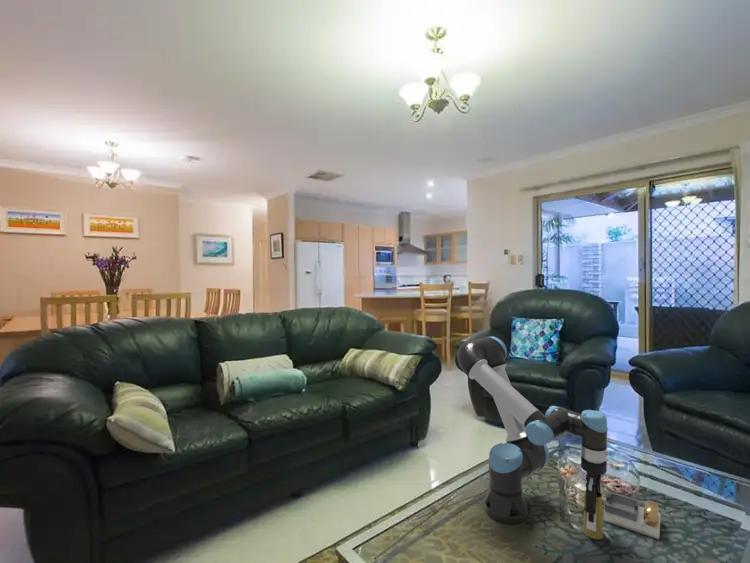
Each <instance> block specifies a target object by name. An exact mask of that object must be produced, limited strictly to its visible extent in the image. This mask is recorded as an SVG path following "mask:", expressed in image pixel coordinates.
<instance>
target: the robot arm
mask: <svg viewBox="0 0 750 563" xmlns="http://www.w3.org/2000/svg"><path fill="white" fill-rule="evenodd" d="M507 354H508V350H507V347H506V344H505V343H504V342H503V340H501V339H499V337H496V336H483V337H480V338H476V339H473V340H467V341H465V342H463V343H462V344H461V345H460V347H459V348H458V350H457V356H456V357H457V362H458V364H459V367H460V369H461V370H462V371H463V373H464V374H465V376H467V377H468V378H469V379H470V380H475V381H476V382H477V383H478V384H479V385H480V386H481V387H482V388H483V389H485V391H487V392H488V393H489V394H490V395H491V396H492V398H493V401H494V403H495V405H496V407H497V411H498V413H499V416H500V418H501V422H502V423H503V426H504V428H505V429H504V430H505V432H506V434H507V436H506V438H505V442H504V443H497V444H495V445H493V446H492V447H491V448H490V450H489V454H488V455H489V456H488V477H489V478H488V480H489V481H488V484H489V486H488V487H489V488H488V491H487V493H486V495H485V499H484V510H485V513H487V514H488V516H489V517H490V518H492V519H494V520H495V521H497V522H501V523H504V524H508V525H509V524H510V525H511V524H512V525H515V524H520V523H522V522H524V521H525V520H527V518H528V505H527V502H526V498H525V496H524V493H523V480H524V479H526V478H527V477H529V476H531V475H532V474H535V473H536V472H538V471H541V470H543V469H544V467H545V466H546V465H547V464H548V462H549V459H550V450H549V448H548V445H547V444H550V443H551V442H552V441H554V440H555V439H558V438H559V437H561V436H564V435H566V434H570V435H573V436H576V437H579V438H580V456H581V457H580V466H581V468H582V470H583V471H584V472H586V474H585V480H586V483H585V490H586V508H584V507H583V511H584V510H585V511H586V512H587V529H590V530H592V531H595V532H596V494H597V492H598V491H599V492H600V493H601V478H602V475H604V474H606V473H607V472H608V471H607V470H608V466H607V465H608V464H607V462H608V461H607V458H608V457H607V456H608V455H610V452H609V451H607V448H608V445H607V443H608V429H609V428H608V421H607V420H608V418H607V416H606V414H604V413H603V412H601V411H599V410H592V409H584V410H583V411H582V412H581V413H579V412H576V411H573V410H571V409H567V408H564V407H562V406H557V405H550V406H549V407H548V409H547V410H546V411H545V414H543V412H542V411H540V410H539V409H538V408H537V407H536V406H534V405H533V404H532V403H531V402H530V401H529V400H528V399H527V398H525V397H524V396H523V395H522V394H521V393H520V392H519V391H518V390H517V389H515V388H514V386H512V384H511V381H510V379H509V376H508V374H507V372H506V367H507V362H506V361H507V360H506V359H507Z"/></svg>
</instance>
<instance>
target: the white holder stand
mask: <svg viewBox="0 0 750 563" xmlns="http://www.w3.org/2000/svg"><path fill="white" fill-rule="evenodd" d="M659 509H660V507H659V505H658V503H657V502H655V501H653V500H647V501H645V502H644V507H642V506H640V500H639V499H637V498H633V497H630V496H626V495H624V494H621V493H617V492H613V491H610V490H608V491H607V494H606V498H605V502H604V510H603V522H607V523H610V524H612V525H616V526H619V527H622V528H624V529H627V530H631V531H633V532H635V533H639V534H642V535H644V536H647V537H650V538H653V539H657V540H660V535H661V534H660V533H661V516H662V515H661V512H659Z"/></svg>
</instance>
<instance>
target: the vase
mask: <svg viewBox="0 0 750 563" xmlns="http://www.w3.org/2000/svg"><path fill="white" fill-rule="evenodd" d="M583 502H584V504H583V525H582V531H583V533H584V535H585V536H587V537H588V538H590V539H593V540H601V539H603V538H604V527H603V526H604V524H603V522H604V518H603V493H601V491H600V492H599V491H598V492H597V494H596V532H595V531H592V530H590V529H587V512H586V511H585V510H584V508H586V489H585V490H584V500H583Z"/></svg>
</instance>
